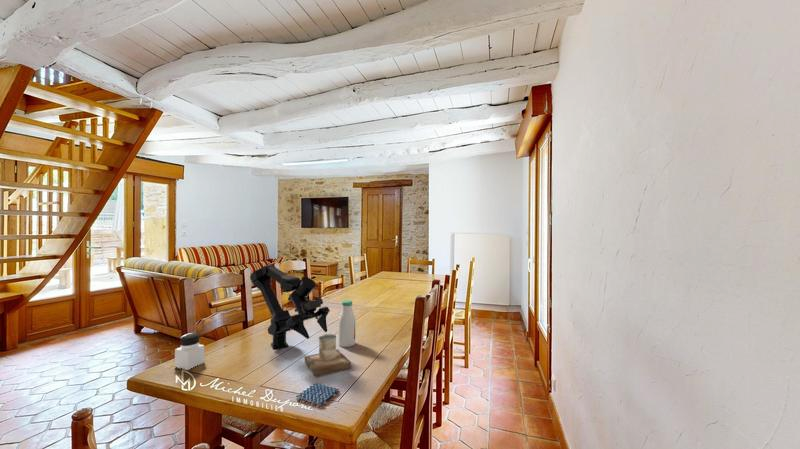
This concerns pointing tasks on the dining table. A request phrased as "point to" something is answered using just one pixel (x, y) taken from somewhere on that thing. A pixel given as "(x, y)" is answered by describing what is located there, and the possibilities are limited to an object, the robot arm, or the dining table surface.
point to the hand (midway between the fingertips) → (317, 334)
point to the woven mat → (318, 395)
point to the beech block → (327, 347)
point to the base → (327, 364)
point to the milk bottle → (346, 325)
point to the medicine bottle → (189, 352)
